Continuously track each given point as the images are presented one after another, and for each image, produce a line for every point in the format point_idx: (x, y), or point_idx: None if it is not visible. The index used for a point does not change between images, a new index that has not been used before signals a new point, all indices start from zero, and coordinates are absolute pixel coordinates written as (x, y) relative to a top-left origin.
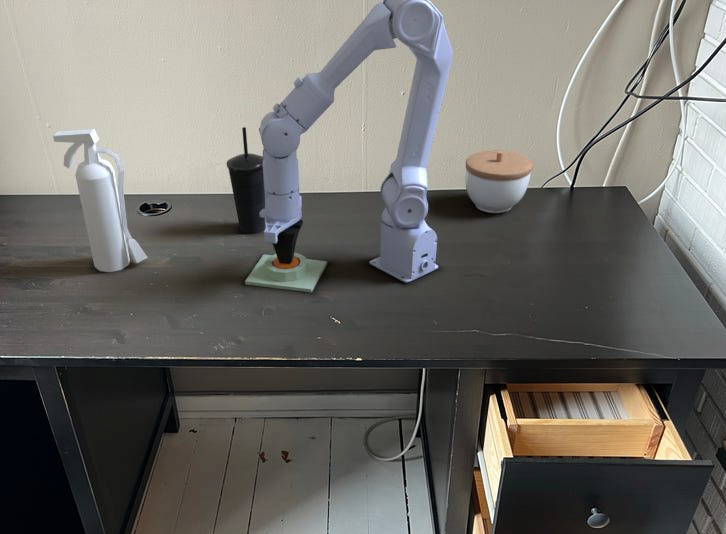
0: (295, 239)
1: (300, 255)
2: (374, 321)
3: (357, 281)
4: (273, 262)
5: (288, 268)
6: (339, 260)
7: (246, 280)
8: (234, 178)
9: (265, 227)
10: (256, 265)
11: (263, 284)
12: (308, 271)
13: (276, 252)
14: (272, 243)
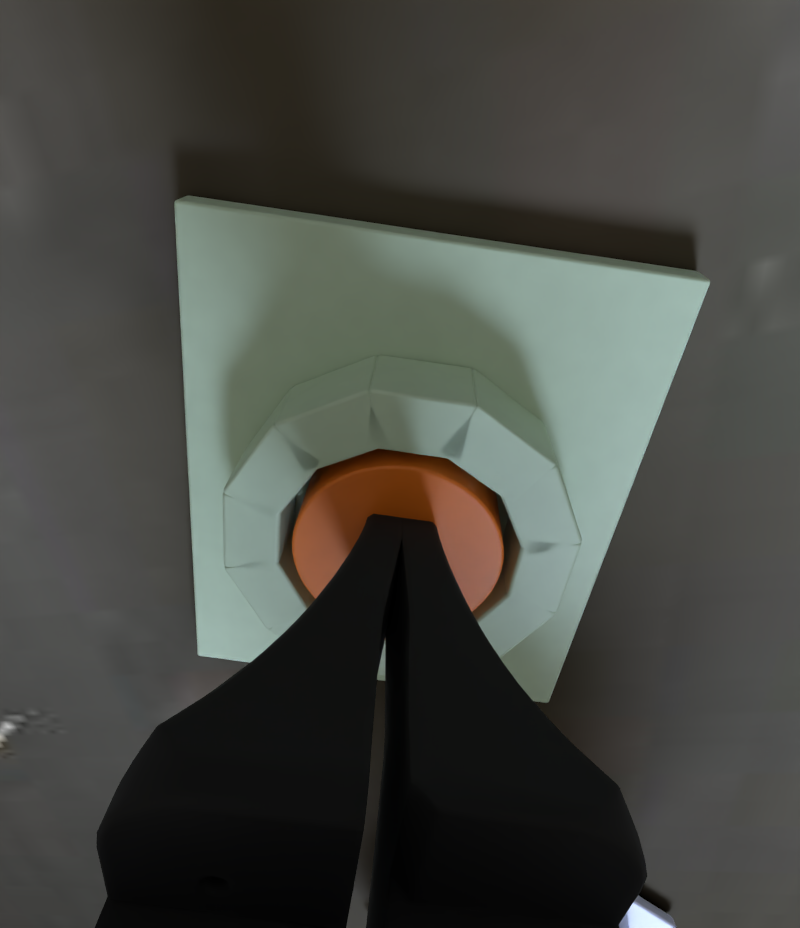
0: (378, 820)
1: (511, 635)
2: (57, 835)
3: (368, 793)
4: (376, 466)
5: (304, 577)
6: (595, 730)
7: (190, 214)
8: None
9: (183, 814)
10: (480, 254)
11: (184, 370)
12: None
13: (337, 573)
14: (276, 640)
